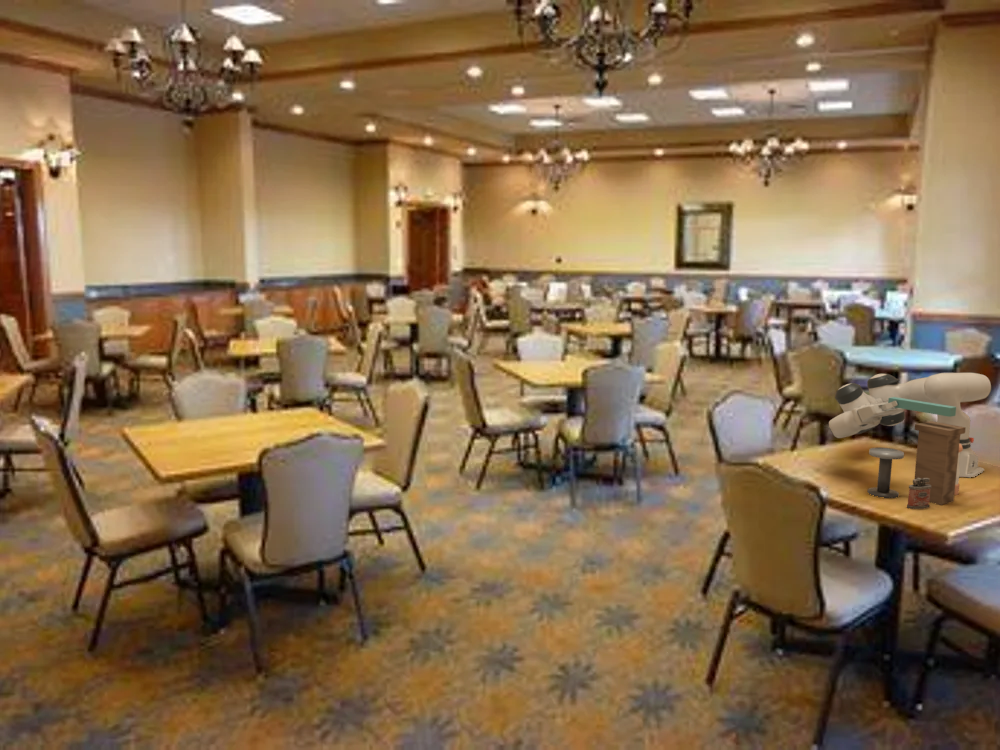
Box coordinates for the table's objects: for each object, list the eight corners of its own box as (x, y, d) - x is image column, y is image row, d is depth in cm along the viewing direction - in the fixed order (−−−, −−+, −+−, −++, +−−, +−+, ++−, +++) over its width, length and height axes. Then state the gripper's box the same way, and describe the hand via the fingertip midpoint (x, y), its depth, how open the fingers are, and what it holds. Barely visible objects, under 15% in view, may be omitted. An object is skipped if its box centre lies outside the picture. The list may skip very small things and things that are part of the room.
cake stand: (877, 488, 303) (880, 446, 301) (906, 495, 294) (910, 452, 292) (859, 492, 297) (862, 449, 295) (888, 500, 288) (892, 456, 286)
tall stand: (923, 493, 298) (930, 421, 294) (958, 501, 288) (965, 427, 284) (908, 497, 292) (915, 424, 288) (942, 506, 283) (950, 430, 279)
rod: (893, 405, 301) (894, 397, 301) (955, 415, 283) (956, 406, 283) (888, 406, 299) (888, 397, 299) (949, 416, 281) (950, 407, 281)
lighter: (911, 509, 279) (914, 480, 277) (904, 506, 282) (907, 477, 280) (931, 508, 281) (934, 478, 279) (924, 504, 284) (927, 476, 282)
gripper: (887, 420, 313) (920, 407, 302) (855, 426, 301) (888, 413, 290) (881, 404, 314) (913, 391, 303) (848, 410, 303) (881, 396, 292)
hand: (901, 402), depth 297 cm, fingers closed on rod, 3 cm apart
